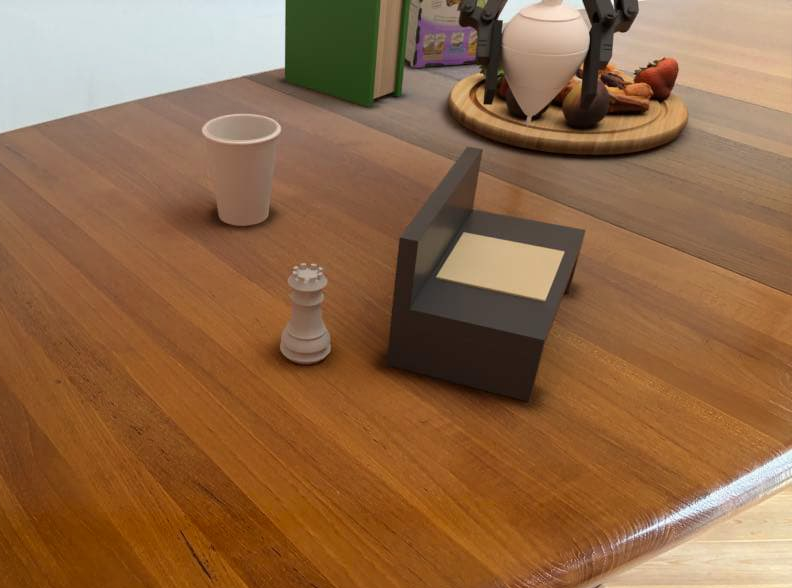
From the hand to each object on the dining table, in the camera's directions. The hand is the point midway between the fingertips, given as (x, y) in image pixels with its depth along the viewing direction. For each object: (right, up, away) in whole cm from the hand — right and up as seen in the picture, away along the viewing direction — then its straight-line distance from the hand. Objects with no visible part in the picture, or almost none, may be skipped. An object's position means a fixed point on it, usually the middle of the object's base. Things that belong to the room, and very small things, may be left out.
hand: (538, 99), depth 72 cm
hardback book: (-11, +22, +55) cm, 60 cm away
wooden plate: (+19, +14, +44) cm, 50 cm away
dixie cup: (-26, -6, +21) cm, 34 cm away
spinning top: (+1, -1, +5) cm, 5 cm away
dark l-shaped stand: (-4, -20, +2) cm, 20 cm away
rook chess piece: (-21, -23, -1) cm, 31 cm away
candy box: (+7, +30, +65) cm, 72 cm away
